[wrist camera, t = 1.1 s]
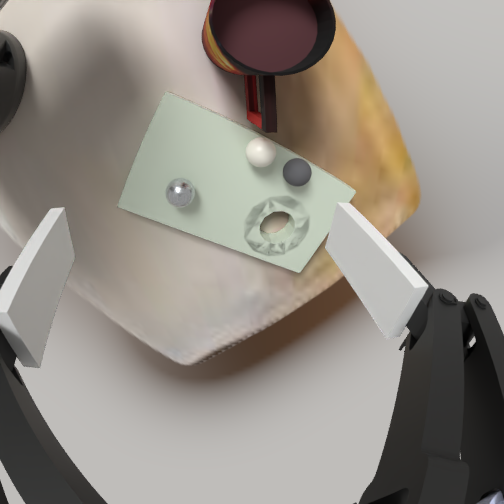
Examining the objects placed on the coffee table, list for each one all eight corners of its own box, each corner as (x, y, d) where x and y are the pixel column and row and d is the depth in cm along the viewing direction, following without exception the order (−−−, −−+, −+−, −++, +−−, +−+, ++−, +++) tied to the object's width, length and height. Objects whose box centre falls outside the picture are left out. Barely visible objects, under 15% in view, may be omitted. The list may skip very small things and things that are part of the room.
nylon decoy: (236, 158, 29) (264, 173, 29) (250, 130, 28) (278, 145, 28) (244, 158, 32) (269, 171, 32) (257, 133, 31) (283, 146, 31)
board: (121, 198, 34) (117, 207, 32) (167, 91, 28) (165, 92, 26) (294, 263, 45) (299, 273, 43) (347, 184, 39) (356, 191, 37)
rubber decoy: (274, 173, 34) (282, 183, 31) (288, 149, 32) (297, 157, 30) (296, 185, 35) (305, 195, 32) (310, 162, 34) (321, 171, 31)
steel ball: (161, 194, 32) (159, 206, 30) (173, 169, 31) (171, 179, 28) (187, 204, 34) (187, 217, 31) (199, 180, 32) (200, 190, 30)
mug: (246, 120, 32) (274, 143, 22) (185, 22, 24) (183, -5, 14) (317, 84, 31) (373, 94, 21) (263, -13, 23) (299, -48, 13)
